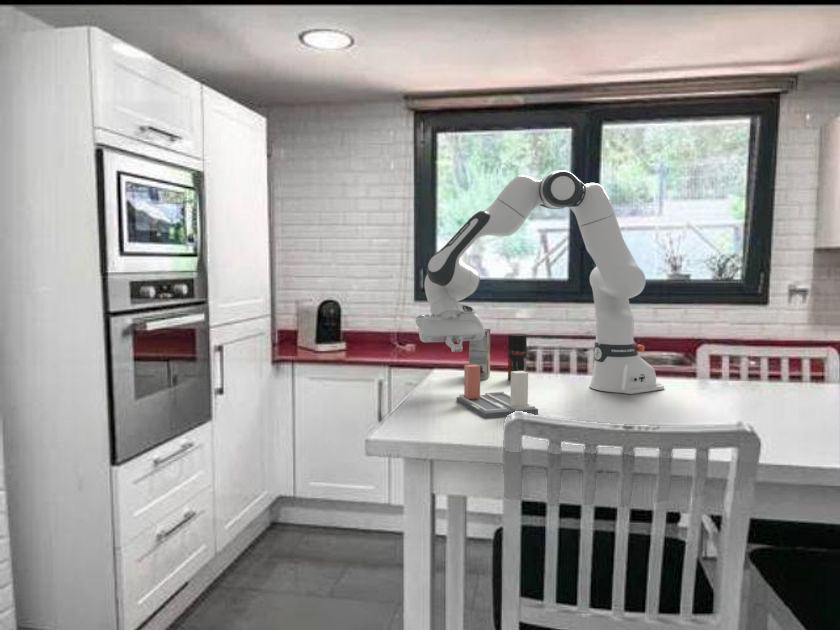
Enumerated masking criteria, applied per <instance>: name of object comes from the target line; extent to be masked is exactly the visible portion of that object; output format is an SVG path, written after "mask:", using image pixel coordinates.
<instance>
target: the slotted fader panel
mask: <svg viewBox="0 0 840 630" xmlns="http://www.w3.org/2000/svg"><path fill="white" fill-rule="evenodd" d="M456 402H457V403H458V404H461V405H462V406H463V407H466V408H467V409H469V410H471V411H472V412H474V413H476V414H477V415H479V416H480V417H482V418H484V419H494V418H503V417H504V418H505V416H506V417H508V416H507V415H509V414H511V413H513V412H515V411H523V412H527V413H532V414H531V415H538V414H539V409H538V408H537V407H536V406H535V405H531V404H529V403H528V406H526V407H514V406H512V405H511V394H508V393H506V392H505V391H492V392H491V391H490V392H485V394H482V395H481V394H480V398H474V399H468V398H466V397H464V394H459V396H456Z"/></svg>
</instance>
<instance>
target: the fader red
mask: <svg viewBox="0 0 840 630" xmlns="http://www.w3.org/2000/svg"><path fill="white" fill-rule="evenodd" d="M463 368H464V369H463V370H464V371H463V373H464V375H463V377H464V385H463V387H464V388H463V391H464V397H466V398H468V399H474V398H480V395H481V379H480V366H478V365H476V364H475V365H469V364H464V367H463Z"/></svg>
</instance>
